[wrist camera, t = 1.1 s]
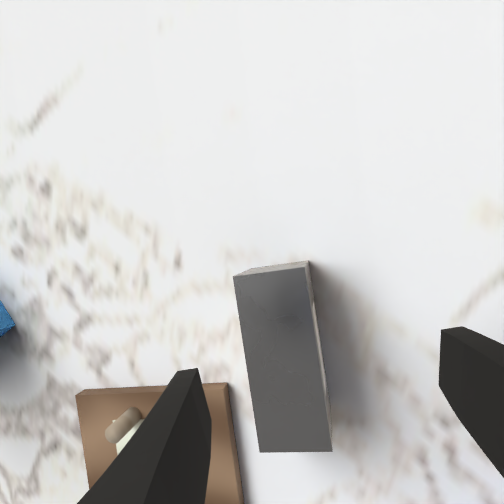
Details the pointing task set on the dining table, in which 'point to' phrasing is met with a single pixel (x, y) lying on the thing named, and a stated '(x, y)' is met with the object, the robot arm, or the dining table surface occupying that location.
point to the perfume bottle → (5, 320)
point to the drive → (284, 358)
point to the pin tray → (130, 418)
